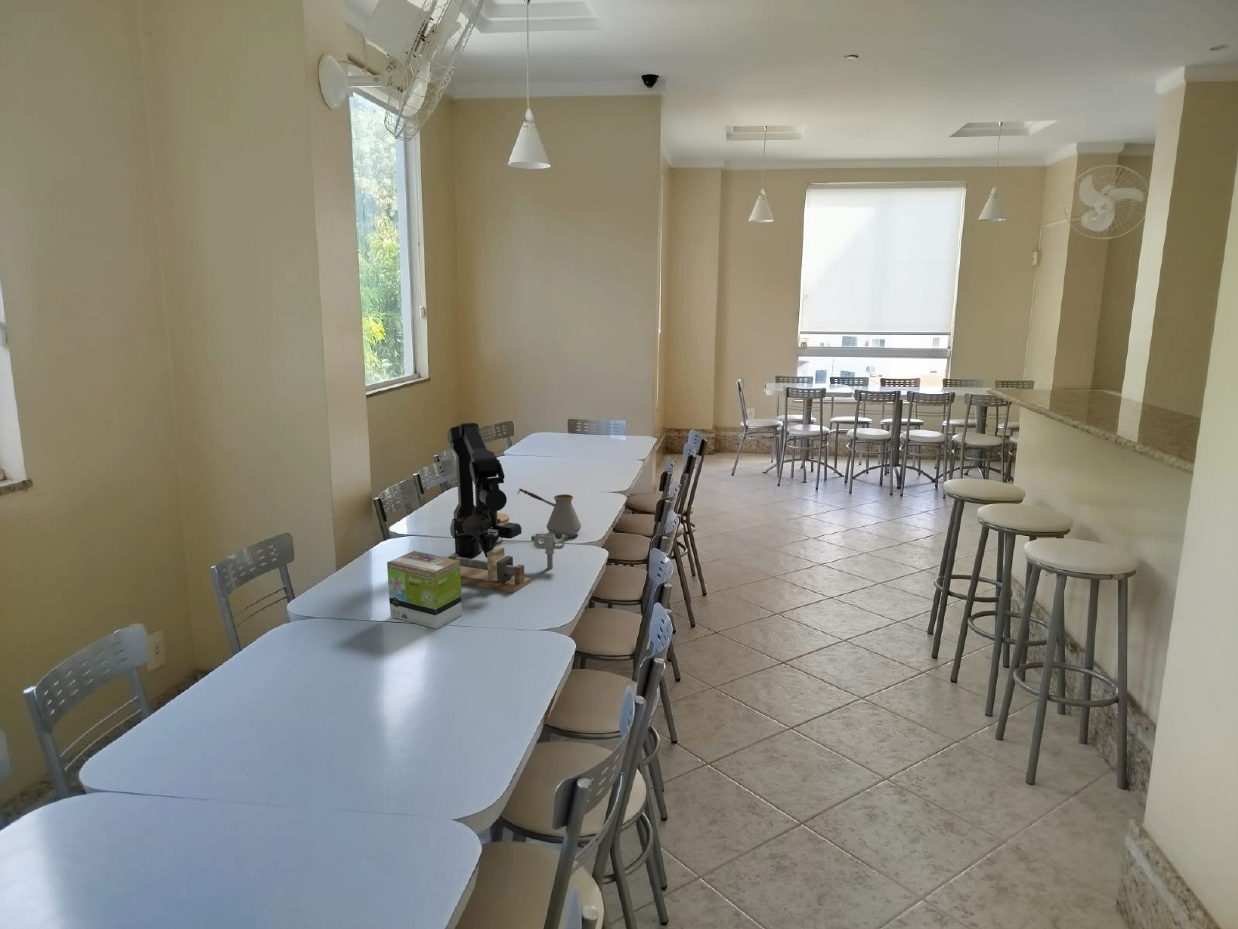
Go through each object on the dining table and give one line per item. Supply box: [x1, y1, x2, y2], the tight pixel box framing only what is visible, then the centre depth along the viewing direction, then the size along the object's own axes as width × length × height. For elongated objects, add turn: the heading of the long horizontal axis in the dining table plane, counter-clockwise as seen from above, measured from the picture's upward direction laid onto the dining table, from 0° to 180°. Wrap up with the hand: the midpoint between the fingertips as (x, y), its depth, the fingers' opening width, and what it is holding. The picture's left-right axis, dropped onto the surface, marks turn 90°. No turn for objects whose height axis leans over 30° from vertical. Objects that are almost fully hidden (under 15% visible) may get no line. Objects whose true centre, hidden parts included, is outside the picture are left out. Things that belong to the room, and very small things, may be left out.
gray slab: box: [497, 555, 514, 582], centre depth 216 cm, size 2×6×6 cm, turn 156°
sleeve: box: [486, 546, 508, 581], centre depth 216 cm, size 3×5×8 cm, turn 155°
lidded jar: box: [492, 512, 510, 544], centre depth 255 cm, size 11×11×9 cm
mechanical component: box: [531, 533, 568, 570], centre depth 229 cm, size 3×10×10 cm, turn 89°
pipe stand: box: [448, 553, 532, 594], centre depth 218 cm, size 23×9×6 cm, turn 66°
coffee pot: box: [517, 488, 582, 539], centre depth 262 cm, size 21×12×15 cm, turn 80°
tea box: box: [386, 550, 463, 630], centre depth 193 cm, size 15×10×15 cm, turn 62°
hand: (488, 557), depth 217 cm, fingers closed
